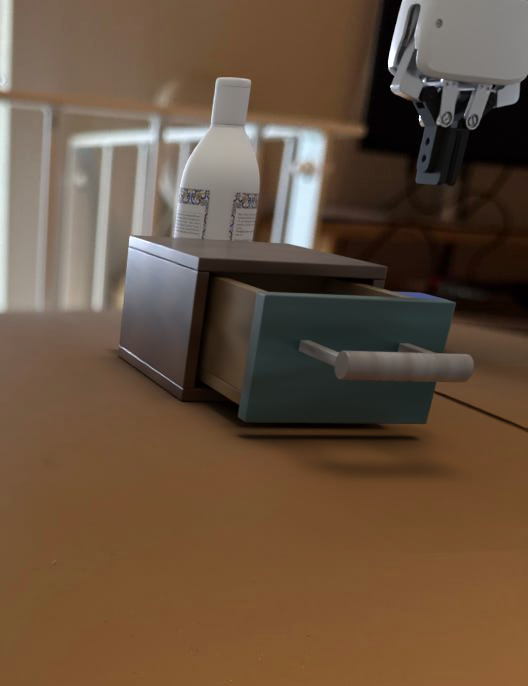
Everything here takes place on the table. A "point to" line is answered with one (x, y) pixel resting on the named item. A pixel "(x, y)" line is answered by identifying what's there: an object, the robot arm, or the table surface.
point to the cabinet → (202, 298)
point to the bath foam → (221, 173)
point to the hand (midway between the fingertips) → (434, 184)
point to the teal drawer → (325, 349)
